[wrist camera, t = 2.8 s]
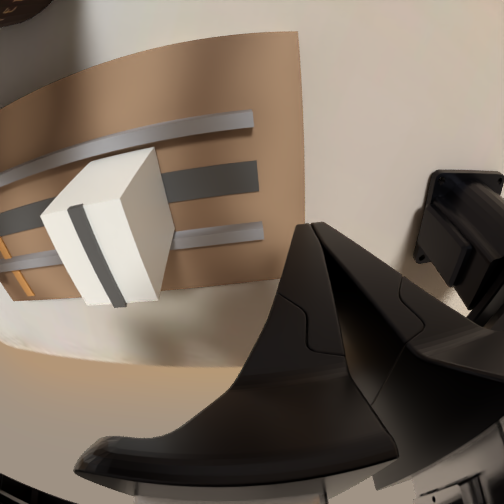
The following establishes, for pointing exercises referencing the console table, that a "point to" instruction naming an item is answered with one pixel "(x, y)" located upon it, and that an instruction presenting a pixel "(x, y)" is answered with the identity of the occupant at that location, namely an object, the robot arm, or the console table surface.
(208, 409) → the robot arm
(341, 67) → the console table surface
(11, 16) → the coffee mug
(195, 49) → the fader board
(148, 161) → the fader tab
